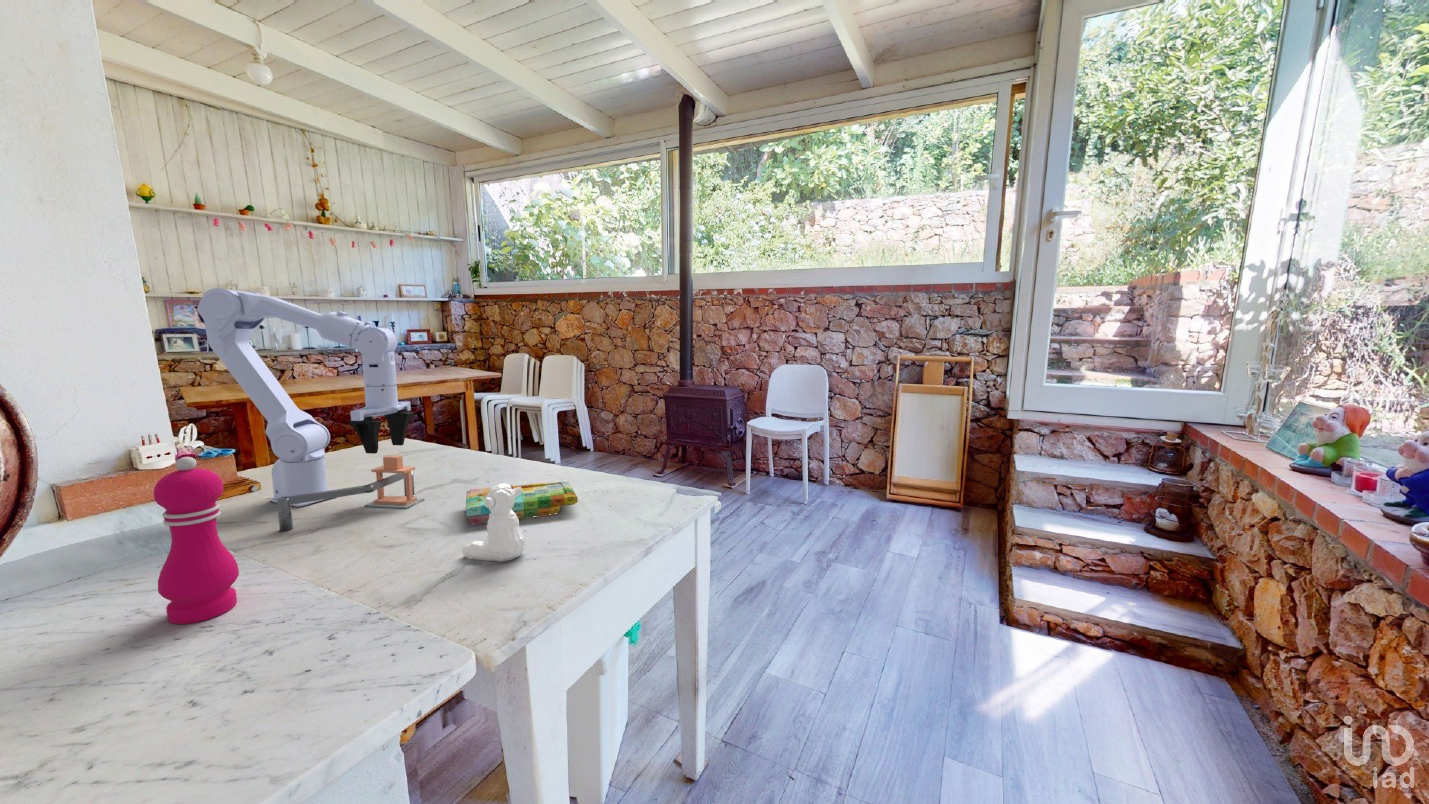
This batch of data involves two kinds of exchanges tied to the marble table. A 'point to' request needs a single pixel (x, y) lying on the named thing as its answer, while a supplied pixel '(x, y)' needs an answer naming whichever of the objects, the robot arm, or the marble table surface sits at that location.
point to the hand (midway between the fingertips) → (385, 449)
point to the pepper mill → (194, 546)
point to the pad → (392, 504)
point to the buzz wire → (286, 502)
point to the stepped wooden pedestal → (394, 466)
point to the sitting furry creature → (499, 528)
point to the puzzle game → (524, 501)
